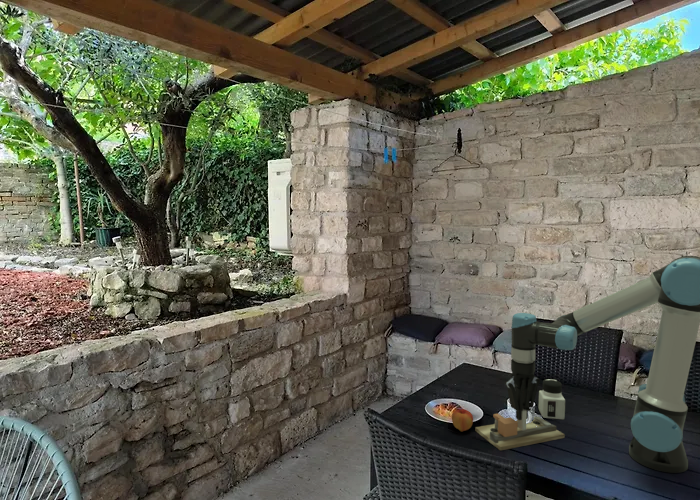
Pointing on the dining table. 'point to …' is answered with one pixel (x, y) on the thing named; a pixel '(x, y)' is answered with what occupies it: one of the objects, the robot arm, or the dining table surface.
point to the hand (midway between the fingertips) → (521, 428)
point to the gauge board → (521, 434)
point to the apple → (462, 419)
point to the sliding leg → (505, 425)
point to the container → (552, 400)
